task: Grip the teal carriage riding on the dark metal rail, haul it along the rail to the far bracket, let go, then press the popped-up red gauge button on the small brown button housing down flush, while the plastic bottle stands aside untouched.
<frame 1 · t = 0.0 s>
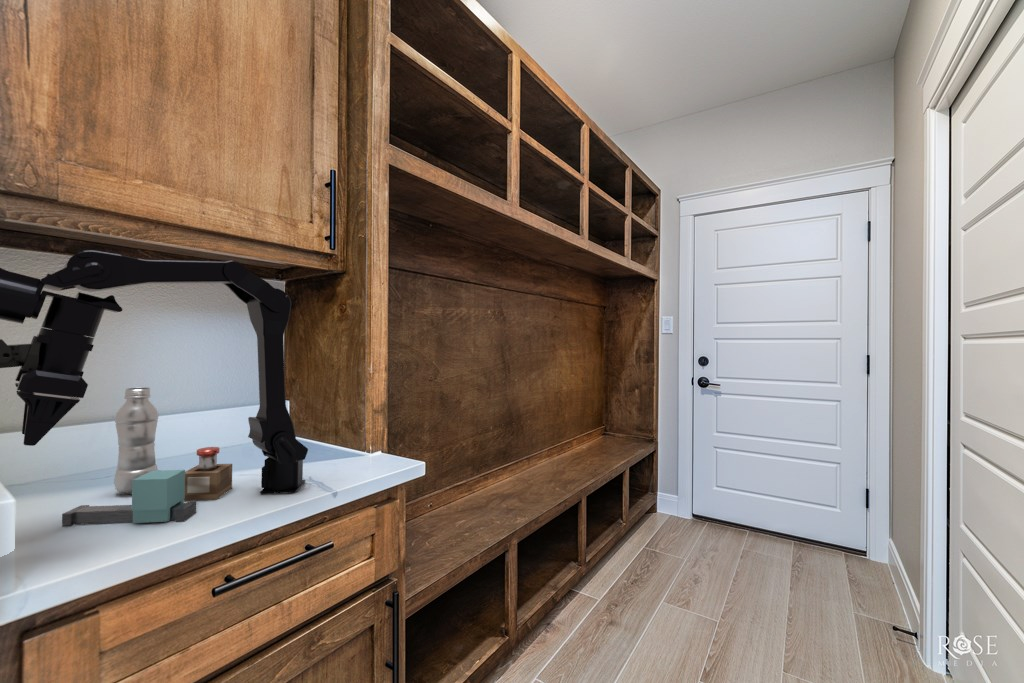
hand: (27, 439, 62), 15 cm above the worktop, tool pointing down, fingers open, 9 cm apart
plastic bottle: (136, 492, 85), on the worktop
gauge button: (207, 463, 84), point 6 cm above the worktop, slide at 0.0 cm
carriage: (159, 495, 73), point 4 cm above the worktop, slide at 0.0 cm
rail: (132, 519, 72), on the worktop
brown button housing: (207, 494, 84), on the worktop
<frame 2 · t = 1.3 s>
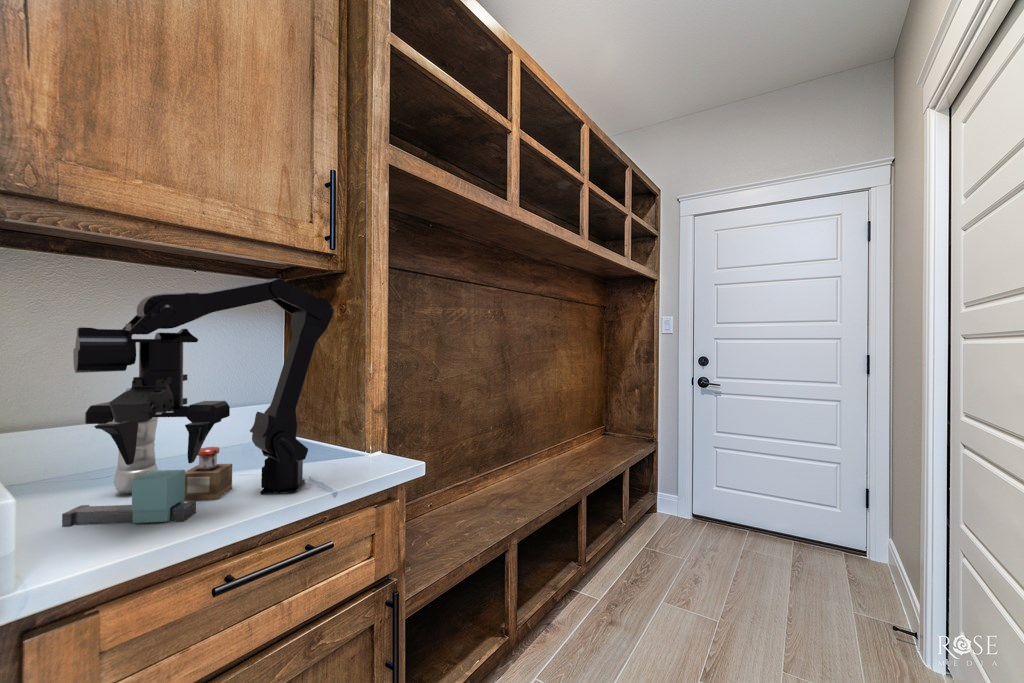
hand: (160, 463, 73), 9 cm above the worktop, tool pointing down, fingers open, 9 cm apart
nothing on the worktop moved.
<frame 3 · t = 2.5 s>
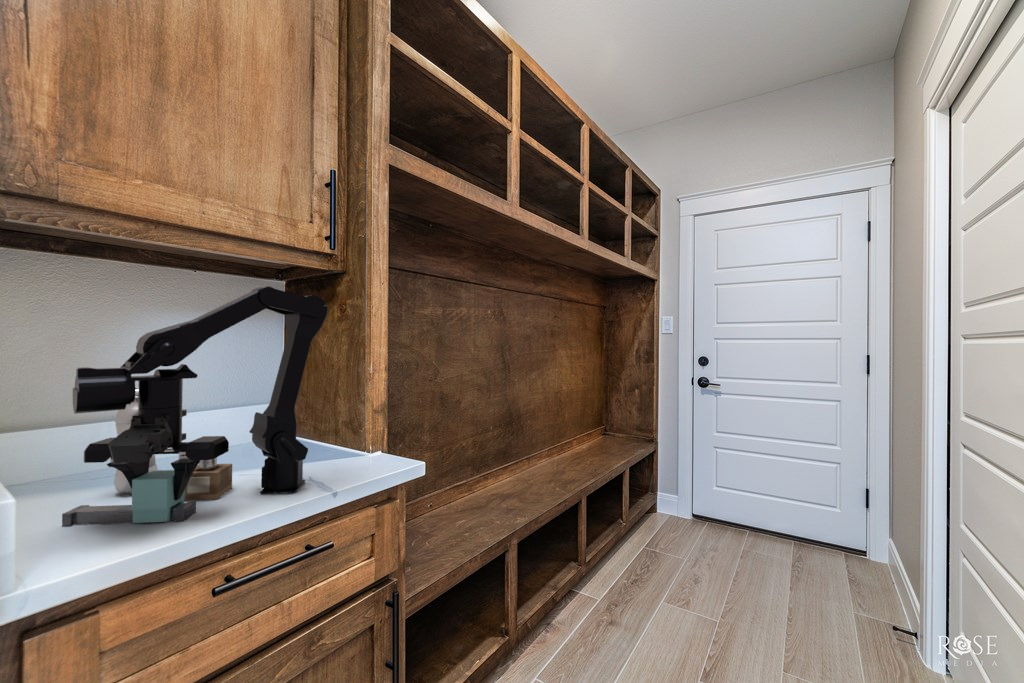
hand: (159, 500, 73), 3 cm above the worktop, tool pointing down, fingers closed on carriage, 5 cm apart
carriage: (159, 495, 73), point 4 cm above the worktop, slide at 0.0 cm, touching gripper
everything else where it was.
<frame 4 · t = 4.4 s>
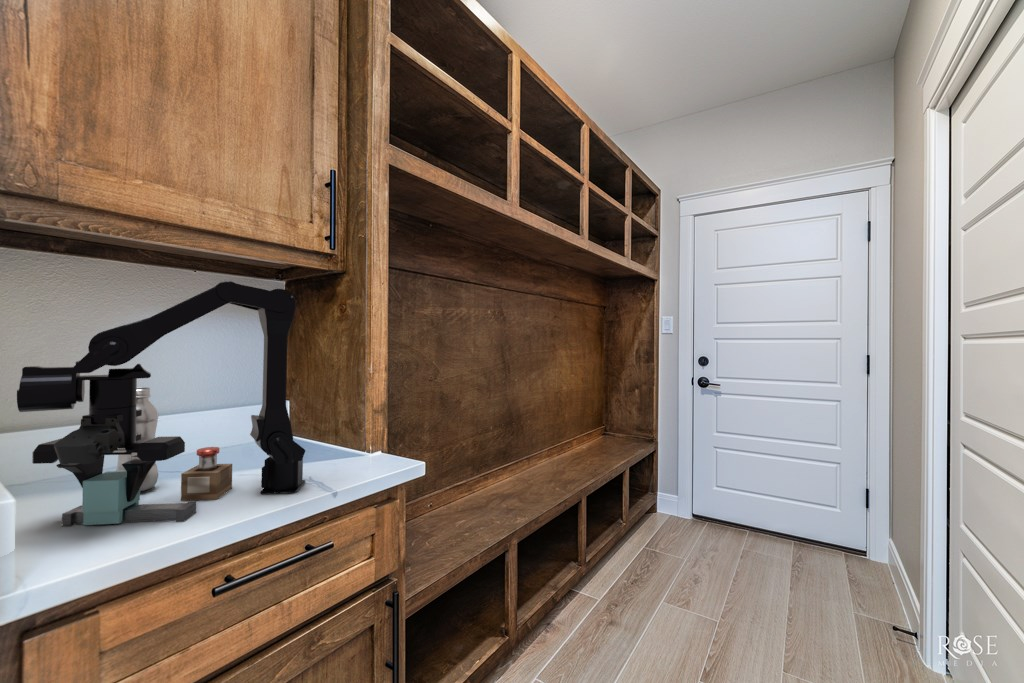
hand: (112, 501, 72), 3 cm above the worktop, tool pointing down, fingers closed on carriage, 5 cm apart
carriage: (112, 497, 72), point 4 cm above the worktop, slide at 6.9 cm, touching gripper
everything else where it was.
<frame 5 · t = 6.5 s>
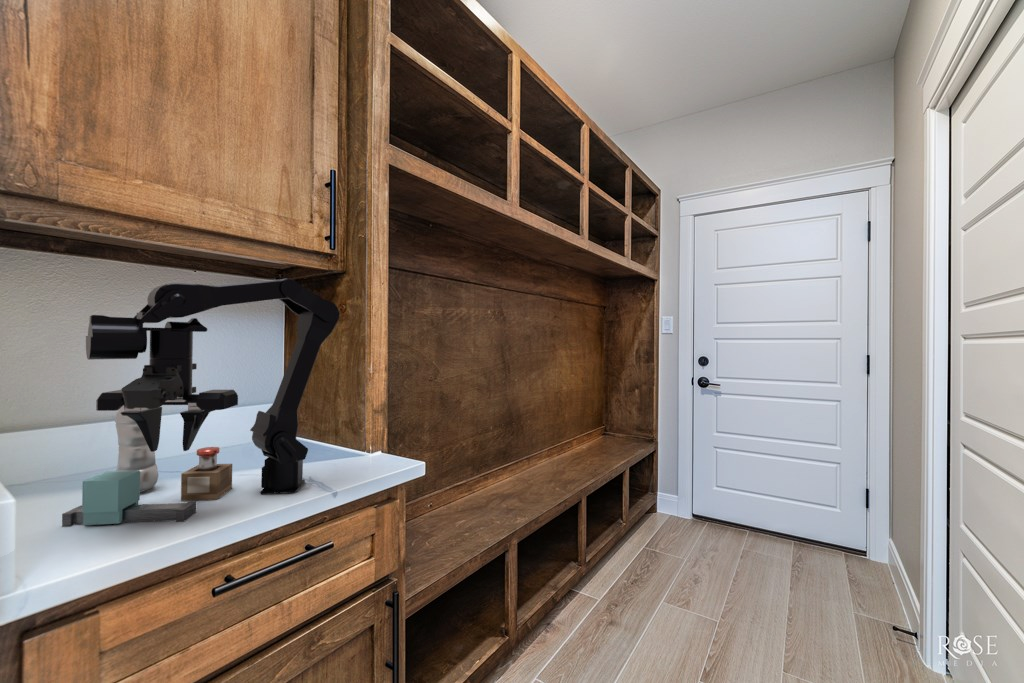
hand: (170, 450, 74), 11 cm above the worktop, tool pointing down, fingers open, 5 cm apart
carriage: (112, 497, 72), point 4 cm above the worktop, slide at 7.0 cm
everything else where it was.
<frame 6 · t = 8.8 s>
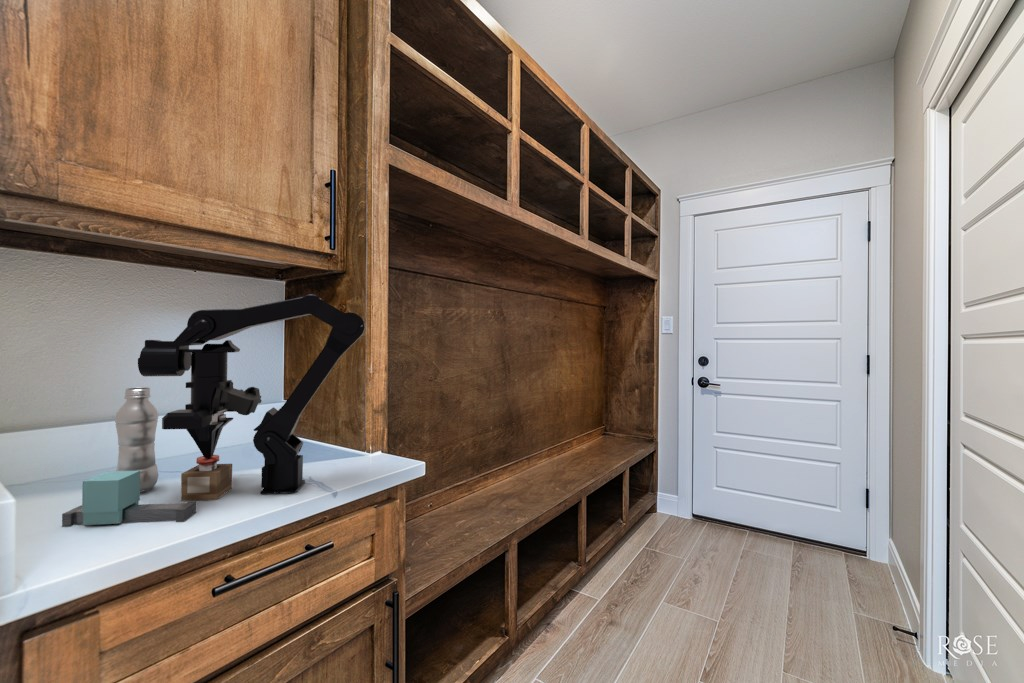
hand: (208, 457, 84), 7 cm above the worktop, tool pointing down, fingers closed, pressing on gauge button
gauge button: (207, 471, 84), point 4 cm above the worktop, slide at 1.6 cm, touching gripper
everything else where it was.
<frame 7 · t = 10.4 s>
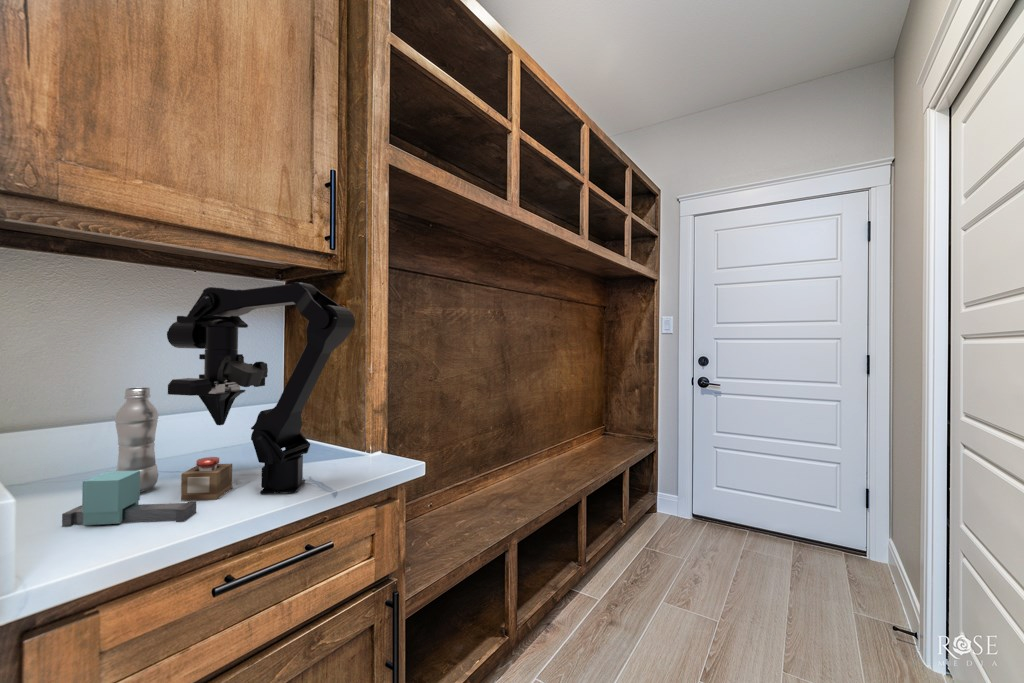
hand: (220, 424, 90), 12 cm above the worktop, tool pointing down, fingers closed
gauge button: (207, 473, 84), point 4 cm above the worktop, slide at 2.0 cm
everything else where it was.
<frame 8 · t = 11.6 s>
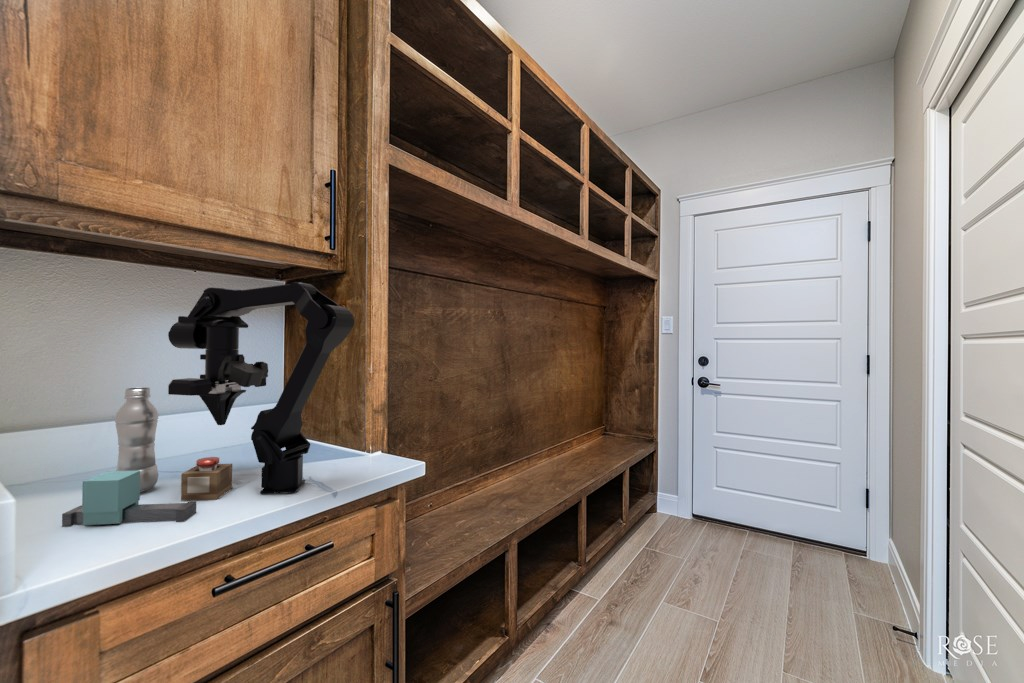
hand: (221, 424, 90), 12 cm above the worktop, tool pointing down, fingers closed
nothing on the worktop moved.
at the end: carriage slide at 7.0 cm; gauge button slide at 2.0 cm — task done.
